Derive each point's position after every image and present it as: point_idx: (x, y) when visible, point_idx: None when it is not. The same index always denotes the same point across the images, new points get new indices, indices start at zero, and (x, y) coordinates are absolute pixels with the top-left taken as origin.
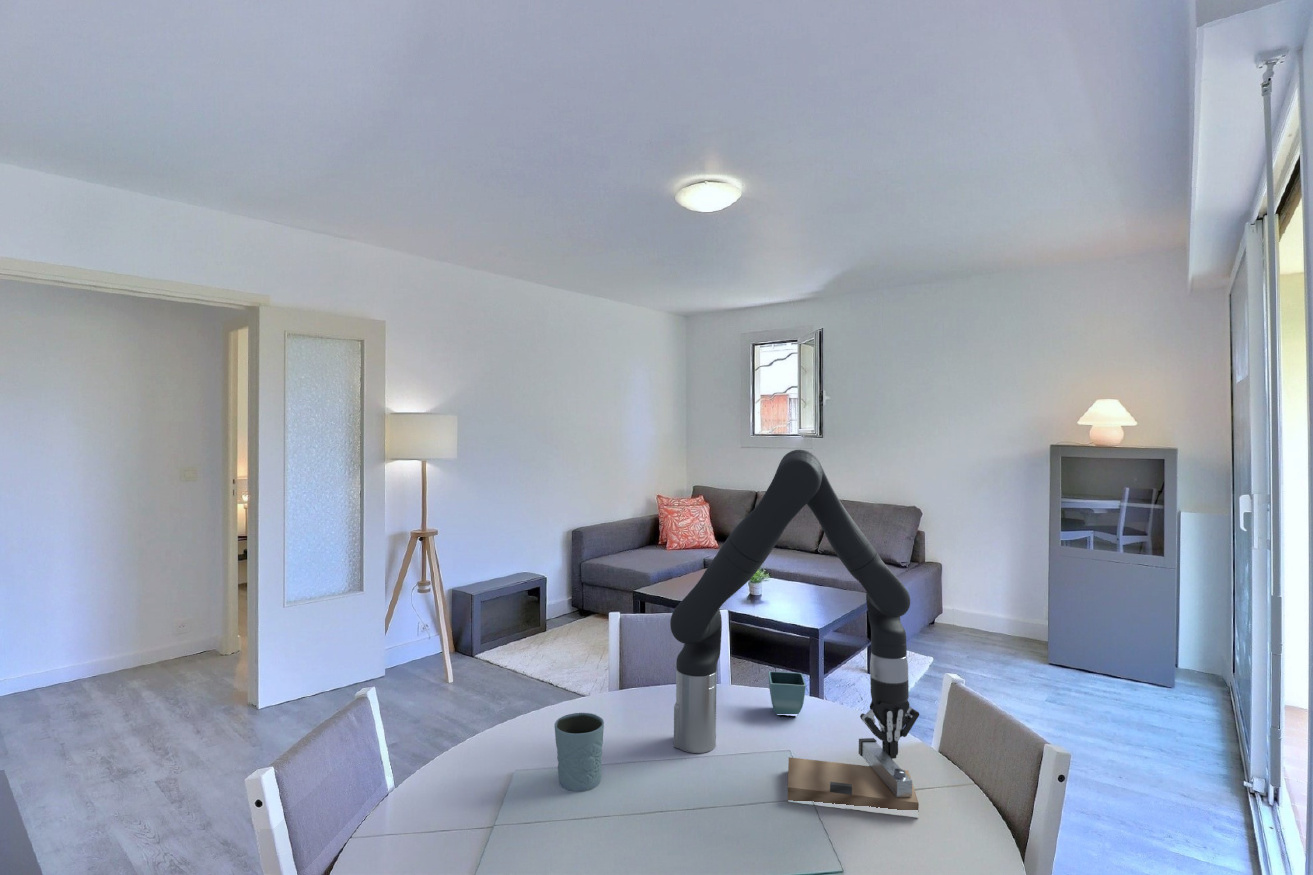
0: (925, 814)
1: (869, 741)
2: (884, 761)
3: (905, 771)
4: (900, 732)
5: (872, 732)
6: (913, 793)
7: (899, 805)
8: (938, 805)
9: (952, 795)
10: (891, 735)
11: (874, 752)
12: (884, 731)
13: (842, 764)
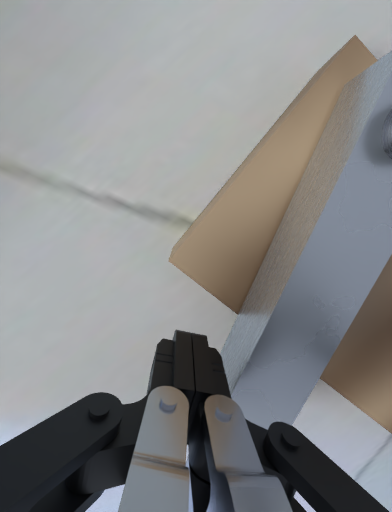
0: (270, 80)
1: None
2: (339, 290)
3: (185, 260)
4: (118, 438)
5: (297, 507)
6: (306, 109)
7: None
8: (179, 100)
9: (76, 125)
10: (214, 434)
11: (303, 375)
12: (209, 490)
13: (355, 394)
